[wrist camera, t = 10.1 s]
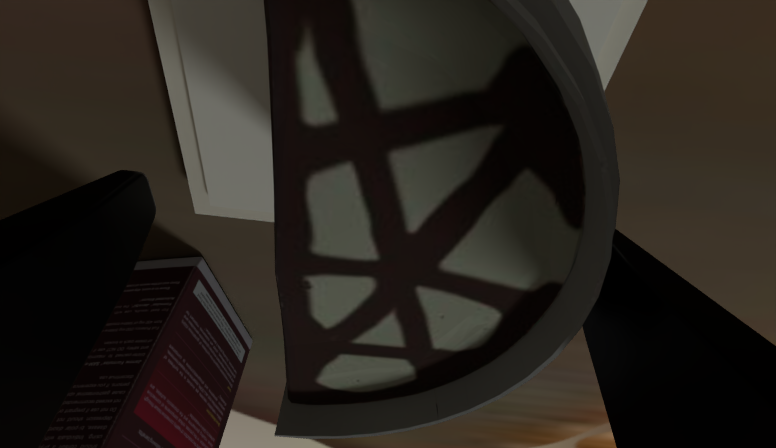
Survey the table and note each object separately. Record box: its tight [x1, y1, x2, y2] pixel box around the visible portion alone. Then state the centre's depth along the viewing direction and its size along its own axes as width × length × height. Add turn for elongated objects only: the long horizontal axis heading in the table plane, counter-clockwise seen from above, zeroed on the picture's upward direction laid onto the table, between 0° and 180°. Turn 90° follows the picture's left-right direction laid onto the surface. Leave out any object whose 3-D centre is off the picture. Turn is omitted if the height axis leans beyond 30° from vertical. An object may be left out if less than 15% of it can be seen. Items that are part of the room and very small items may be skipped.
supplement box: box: [39, 257, 252, 448], centre depth 21 cm, size 9×5×16 cm, turn 8°
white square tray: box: [148, 0, 647, 222], centre depth 15 cm, size 16×16×2 cm
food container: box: [264, 0, 620, 439], centre depth 11 cm, size 12×6×10 cm, turn 173°
